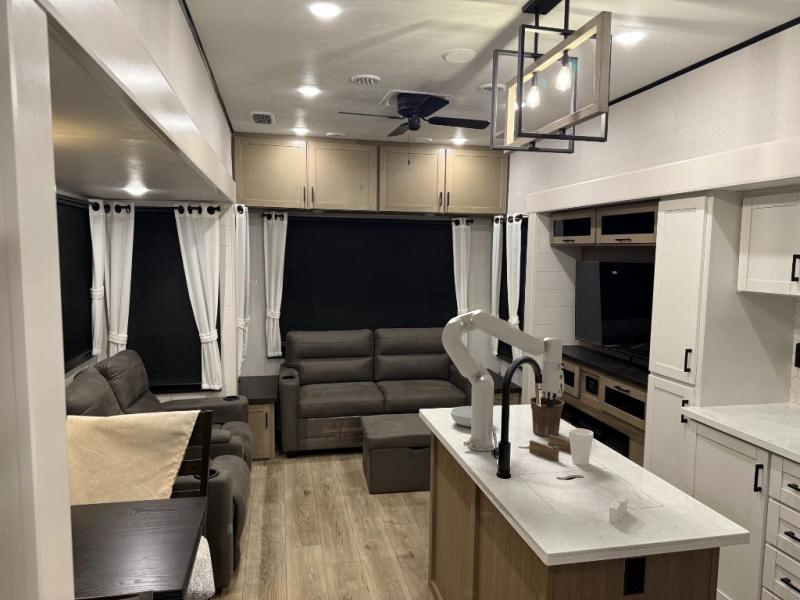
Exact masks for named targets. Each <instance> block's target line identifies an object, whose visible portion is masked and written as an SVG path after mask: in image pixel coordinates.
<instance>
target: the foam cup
mask: <svg viewBox="0 0 800 600" xmlns="http://www.w3.org/2000/svg"><path fill="white" fill-rule="evenodd" d="M568 436H569V440H570V445H571V453H570V454H571V462H572V463H573V464H574V465H576V466H583V467H584V466H588V465H589V463H590V462H589V461H590V457H591V449H592V443H593V440H594V432H593V431H592V430H589V429H585V428H571V429H569V433H568Z"/></svg>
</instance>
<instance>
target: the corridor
mask: <svg viewBox="0 0 800 600" xmlns="http://www.w3.org/2000/svg"><path fill="white" fill-rule="evenodd" d="M547 438H548V444H545V443H541V442H538V441H535V440H532V439H531V440H529V448H528V449H529V453H531V454H534V455H537V456H539V457H543V458H545V459H548V460H551V461H554V462H556V463H557V462H559V461H560V451H563V452H566V453H569V454H571V445H570V439H567V438H564V437H560V436H554V435H549V437H547Z"/></svg>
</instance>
